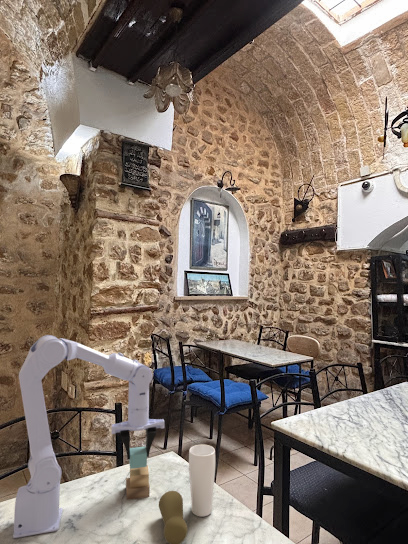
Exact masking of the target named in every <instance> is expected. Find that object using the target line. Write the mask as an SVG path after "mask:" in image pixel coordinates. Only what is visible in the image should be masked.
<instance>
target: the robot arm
mask: <svg viewBox="0 0 408 544" xmlns="http://www.w3.org/2000/svg"><path fill="white" fill-rule="evenodd" d="M74 359H75V360H76V359H79V360H83V361H85V362H89V363H92V364H93V365H96V366H97V365H98V366H101V367H102V368H103V370H104V373H105V374H106V375H110V376H112V377H115V378H118V379H121V380H122V381H128V396H127V397H128V400H127V401H128V402H127V403H128V407H127V411H128V412H127V416H128V417H127V420H126V421H121V422H119V423H113V424H111V435H116V434H117V433H120V434H119V435H120V438H121V440H122V443H123V445H124V448H125V452H126V460H129V459H130V448H131V445H130V444H131V434H130V433H131V432H134V431H135V432H139V431H144V430H145V440H146V441H145V447H146V451H147V458H148V457H150V452H151V448H152V444H153V442H154V440H155V438H156V436H157V433H158V432H157V429H161V430H162V429H165V420H164V418H162V419H161V418H160V419H159V418H158V419H154V418H149V416H150V415H149V413H150V411H149V410H150V384H151V382H152V381H153V377H154V376H153V375H154V374H152V373H153V372H152V370H151V369H150V368H151V367H149V366H147V365H145V364H144V363H141V362H139V360H137V359H135V358H134V359H130V358H128V357H126V356H124V354H123V353H122V352H119V351H118V352H117V353H116V352H113V353H111V354H108V355H107V354H105V353H103V352H100V351H99V350H95V349H93V348H91V347H89V346H86V345H84V344H83V343H80V342H77V341H73V340H70V339H67V338H61V337H60V338H57V336H55V335H51V334H45V335H43V336H40V337H39V338H38V339H37V340H36V342H34V343H33V344H32V346H30V349H29V350H28V354H27V355H26V358H25V360H24V362H23V364H22V366H21V368H20V370H19V372H18V379H19V380H18V381H19V387H20V391H21V392H20V394H21V398H22V405H23V410H24V411H23V412H24V417H25V421H26V422H25V423H26V429H27V430H26V431H27V437H28V441H29V450H30V451H29V452H30V457H29V460H28V463H27V467H28V471H29V473H30V479H29V480H28V482H27V484H25V485H23V486H20V487H18V489H17V493H16V496H15V497H16V498H15V502H14V519H13V535H12V538H13V539H18V538H24V537H27V536H34V535H39V534H46V533H51V532H57V531H58V530H59V528H60V524H61V518H62V514H63V508H62V507H60V499H61V498H60V495H61V494H60V492H61V491H60V490H61V479H62V473H63V472H62V468H61V466H60V465H59V463H58V461H57V458H56V454H55V452H54V449H53V445H52V438H51V434H50V433H51V432H50V426H49V420H48V414H47V413H48V412H47V408H46V403H45V396H44V389H43V381H42V379H44V377H45V376H46V375H47V374H48V373H49V371H50V370H52V369H53V368H55V367H56V366H58V365H59V364H61V362H63V361H64V360H65V361H67V362H68V361H71V360H74Z"/></svg>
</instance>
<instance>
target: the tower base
mask: <svg viewBox="0 0 408 544" xmlns="http://www.w3.org/2000/svg"><path fill="white" fill-rule="evenodd" d="M150 489H151V488H150V485H149V486H141V487H132V488H130V477H125V493H126V501H130V500H134V499H135V500H136V499H142V498H149V497H150Z"/></svg>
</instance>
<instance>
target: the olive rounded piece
mask: <svg viewBox="0 0 408 544" xmlns="http://www.w3.org/2000/svg"><path fill="white" fill-rule="evenodd" d="M183 501H184V499H183V497H182V495H181V493H180V492H178V491H175V490H169V491H166V492H165V493H164V494H162V495H161V496H160V498H159V501H158V508H159V511H160V514H161V517H162V520H163V523H164V527H163V536H164V539H165V540H166V542H167V544H182V543H183V542H184V541H185V539H186V537H187V535H188V526H187V523H186V521H185V520H184V502H183Z"/></svg>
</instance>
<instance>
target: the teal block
mask: <svg viewBox="0 0 408 544" xmlns="http://www.w3.org/2000/svg"><path fill="white" fill-rule="evenodd" d="M128 462H129V463H128V464H129V470H130V469H133V468H140V467H147V465H148V457H147V451H146V445H145V446H136V447H130V459H129V461H128Z"/></svg>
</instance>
